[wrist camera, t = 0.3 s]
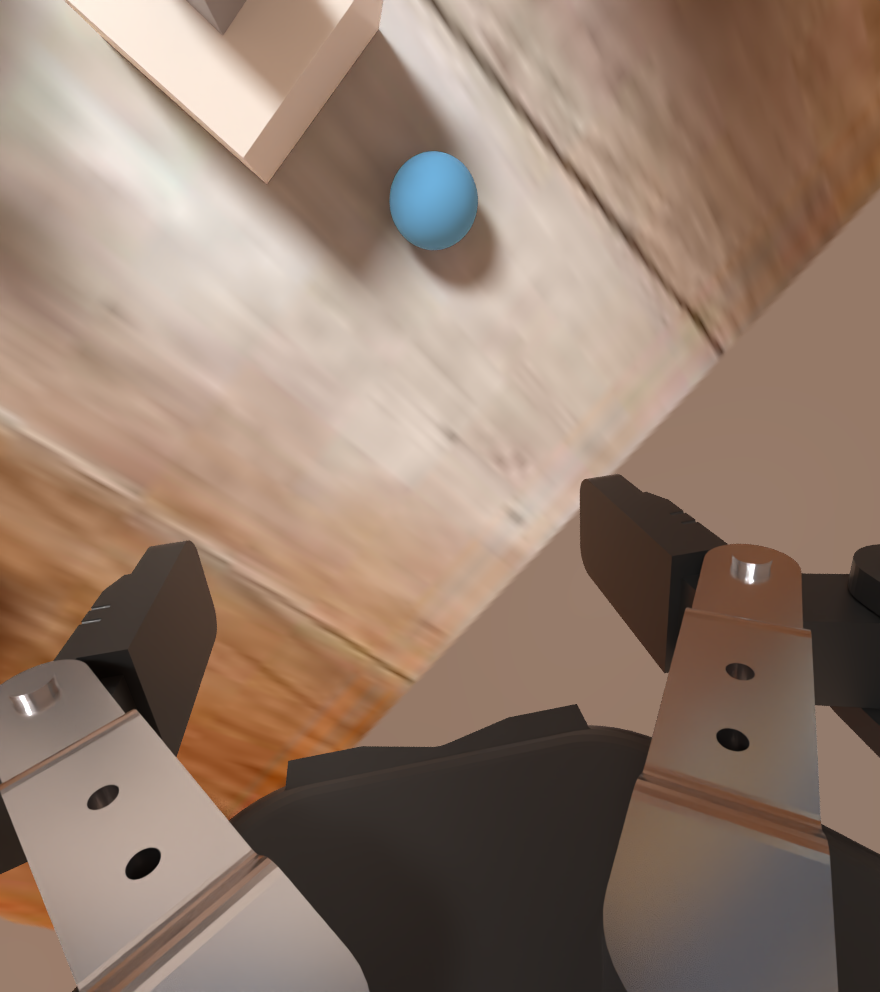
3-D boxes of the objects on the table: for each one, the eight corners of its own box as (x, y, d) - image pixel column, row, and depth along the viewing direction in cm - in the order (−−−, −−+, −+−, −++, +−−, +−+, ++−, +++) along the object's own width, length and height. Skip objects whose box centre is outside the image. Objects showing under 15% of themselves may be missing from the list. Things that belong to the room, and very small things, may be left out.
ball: (385, 157, 34) (392, 140, 30) (469, 161, 35) (489, 145, 30) (386, 250, 36) (393, 247, 31) (466, 252, 37) (484, 250, 32)
